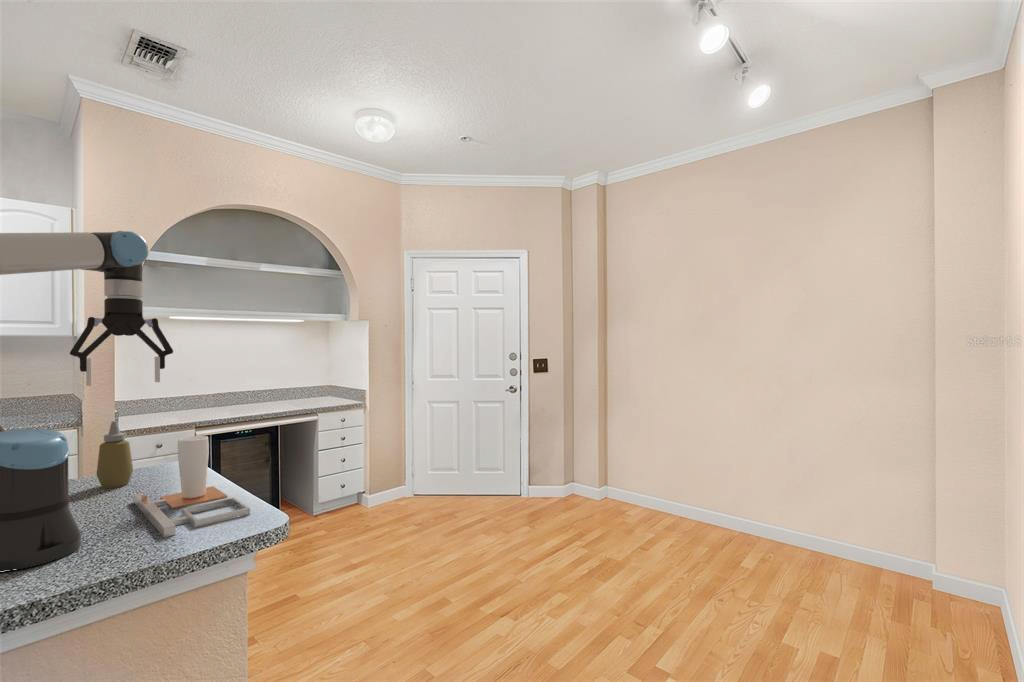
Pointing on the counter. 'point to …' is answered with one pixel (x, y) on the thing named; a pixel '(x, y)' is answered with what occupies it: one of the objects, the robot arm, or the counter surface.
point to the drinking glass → (193, 465)
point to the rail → (187, 509)
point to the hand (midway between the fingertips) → (124, 383)
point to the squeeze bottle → (114, 459)
